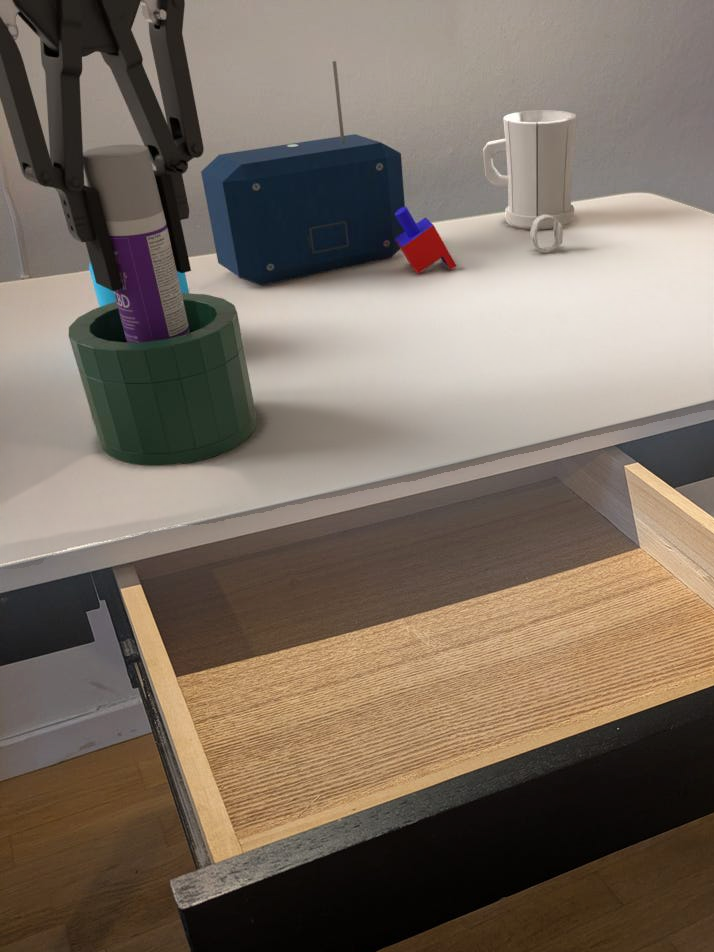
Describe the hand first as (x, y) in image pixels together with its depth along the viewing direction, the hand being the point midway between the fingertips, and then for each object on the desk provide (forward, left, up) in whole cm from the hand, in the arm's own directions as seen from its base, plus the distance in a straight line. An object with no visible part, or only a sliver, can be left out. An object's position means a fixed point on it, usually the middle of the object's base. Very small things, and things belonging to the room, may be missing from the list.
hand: (144, 276), depth 71 cm
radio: (+5, +44, -12) cm, 46 cm away
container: (0, 0, -7) cm, 7 cm away
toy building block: (+18, +41, -12) cm, 46 cm away
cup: (+31, +59, -12) cm, 68 cm away
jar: (0, 0, -12) cm, 12 cm away
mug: (-8, +20, -12) cm, 25 cm away
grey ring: (+32, +46, -12) cm, 57 cm away
